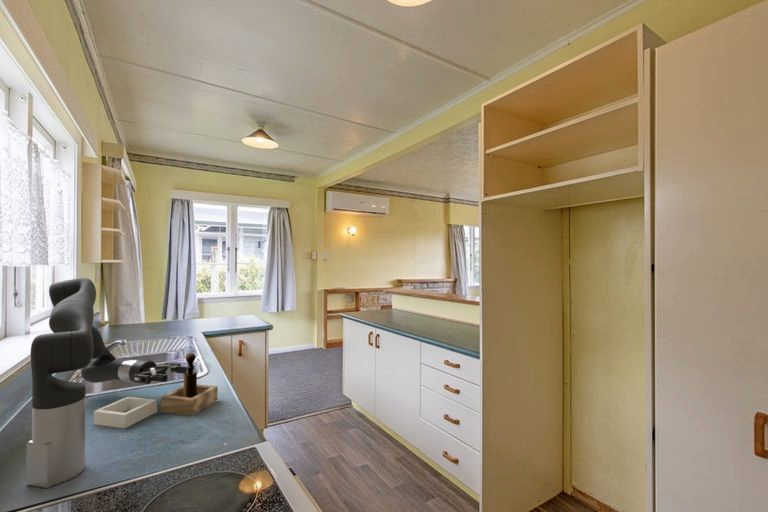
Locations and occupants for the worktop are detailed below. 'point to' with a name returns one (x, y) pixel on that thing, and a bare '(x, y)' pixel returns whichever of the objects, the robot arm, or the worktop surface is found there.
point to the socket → (189, 400)
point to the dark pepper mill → (190, 377)
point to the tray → (116, 417)
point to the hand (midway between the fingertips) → (176, 374)
